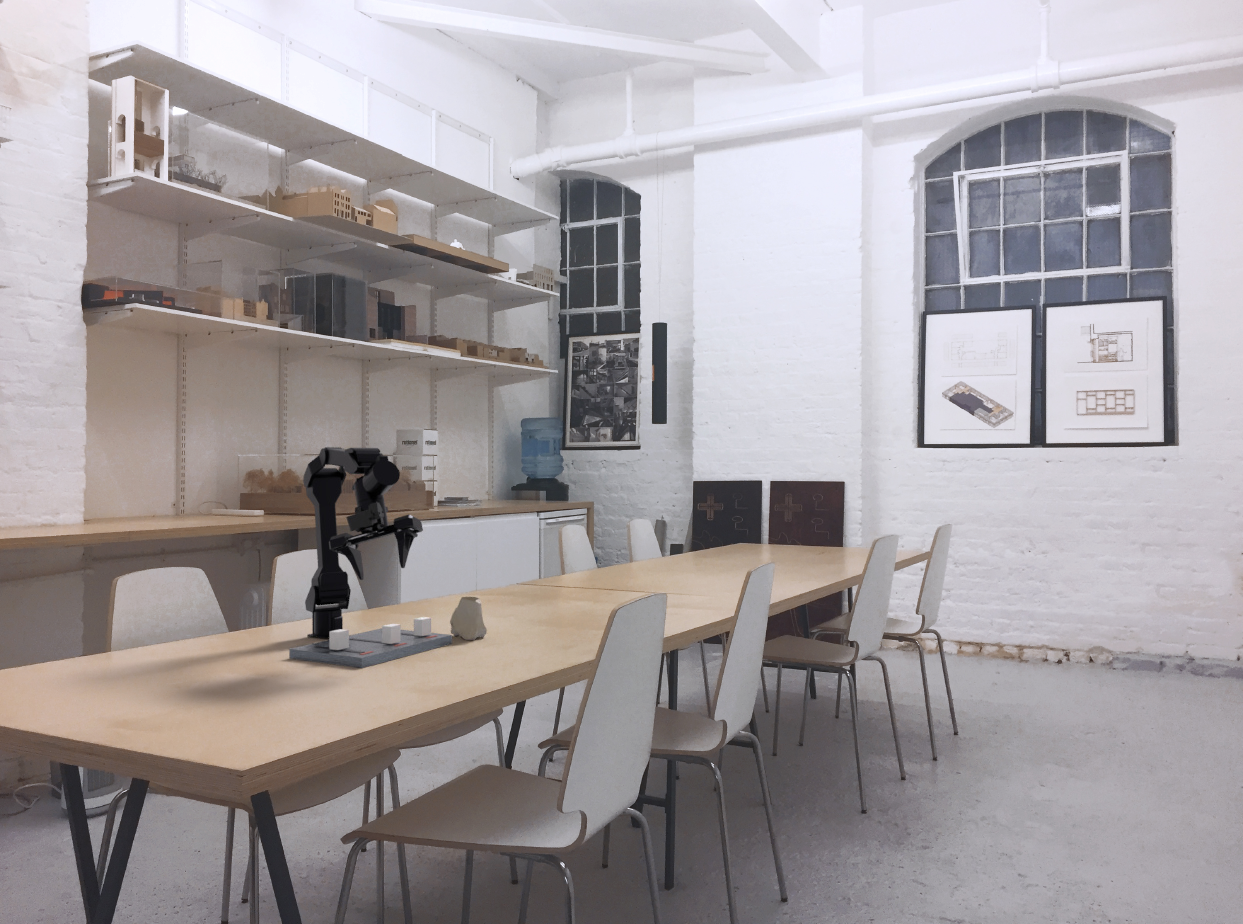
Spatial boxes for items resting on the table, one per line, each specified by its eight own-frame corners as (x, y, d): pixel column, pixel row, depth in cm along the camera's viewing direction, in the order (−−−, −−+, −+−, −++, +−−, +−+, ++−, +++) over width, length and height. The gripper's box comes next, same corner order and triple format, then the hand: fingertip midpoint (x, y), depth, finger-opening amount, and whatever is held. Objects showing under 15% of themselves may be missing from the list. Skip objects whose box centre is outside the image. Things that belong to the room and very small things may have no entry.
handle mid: (382, 642, 196) (382, 625, 196) (391, 640, 199) (391, 623, 199) (390, 643, 195) (390, 626, 195) (400, 641, 198) (400, 624, 198)
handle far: (413, 635, 205) (413, 618, 205) (422, 632, 208) (422, 616, 208) (422, 636, 204) (422, 619, 204) (431, 633, 206) (431, 617, 206)
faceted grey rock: (486, 646, 215) (498, 604, 218) (470, 639, 208) (484, 597, 211) (453, 639, 218) (466, 598, 221) (437, 632, 212) (451, 590, 215)
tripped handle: (329, 648, 190) (329, 631, 190) (340, 646, 192) (340, 629, 192) (338, 650, 188) (338, 632, 188) (348, 647, 191) (348, 630, 191)
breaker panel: (289, 658, 192) (289, 648, 192) (383, 636, 216) (383, 627, 216) (361, 668, 182) (361, 657, 182) (451, 643, 207) (451, 634, 207)
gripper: (311, 506, 189) (321, 579, 185) (396, 481, 187) (408, 555, 183) (337, 518, 200) (347, 587, 195) (417, 494, 198) (429, 564, 193)
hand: (382, 573), depth 191 cm, fingers open, 9 cm apart
